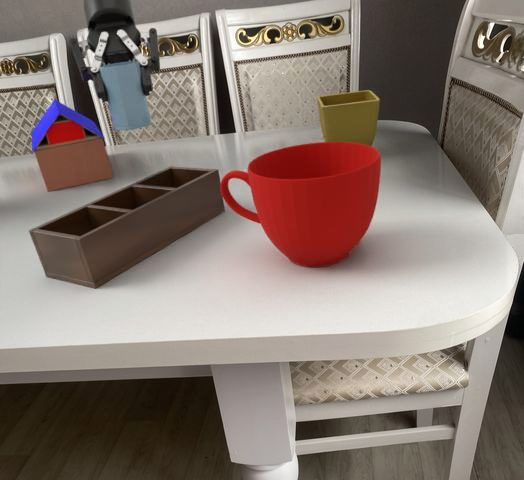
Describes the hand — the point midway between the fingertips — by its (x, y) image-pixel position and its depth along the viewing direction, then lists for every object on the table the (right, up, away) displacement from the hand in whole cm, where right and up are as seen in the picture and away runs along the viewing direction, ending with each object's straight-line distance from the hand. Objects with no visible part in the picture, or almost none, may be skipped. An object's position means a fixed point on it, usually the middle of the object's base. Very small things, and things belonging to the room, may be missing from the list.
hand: (125, 95), depth 82 cm
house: (-14, -6, +18) cm, 23 cm away
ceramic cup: (+26, -29, -24) cm, 46 cm away
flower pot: (+36, -8, +5) cm, 37 cm away
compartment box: (+6, -26, -16) cm, 31 cm away
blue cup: (0, -3, +4) cm, 5 cm away
